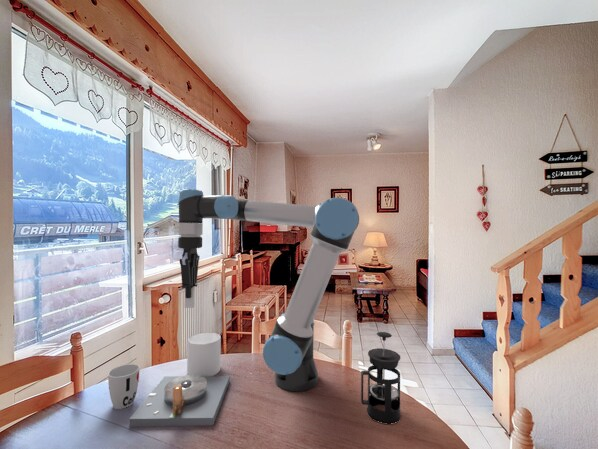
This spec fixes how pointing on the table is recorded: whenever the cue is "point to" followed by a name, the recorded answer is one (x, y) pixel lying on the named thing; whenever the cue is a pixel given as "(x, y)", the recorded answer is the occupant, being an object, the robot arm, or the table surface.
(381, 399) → the french press
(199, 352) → the cup
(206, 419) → the board
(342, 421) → the table surface
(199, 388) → the dial
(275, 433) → the table surface
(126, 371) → the cup
